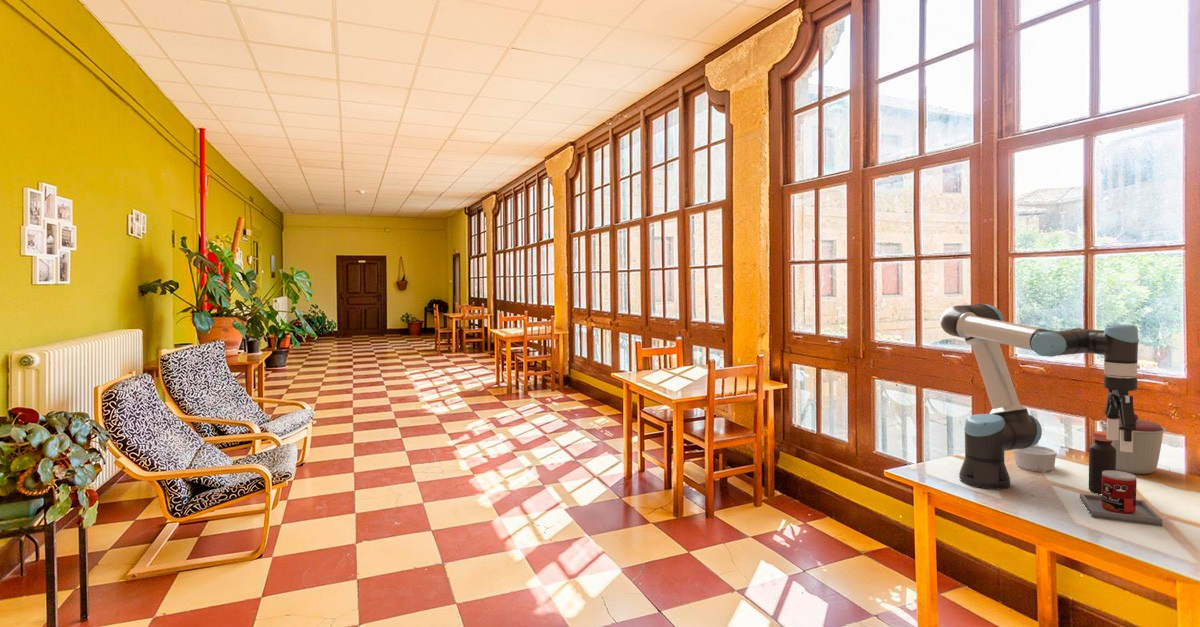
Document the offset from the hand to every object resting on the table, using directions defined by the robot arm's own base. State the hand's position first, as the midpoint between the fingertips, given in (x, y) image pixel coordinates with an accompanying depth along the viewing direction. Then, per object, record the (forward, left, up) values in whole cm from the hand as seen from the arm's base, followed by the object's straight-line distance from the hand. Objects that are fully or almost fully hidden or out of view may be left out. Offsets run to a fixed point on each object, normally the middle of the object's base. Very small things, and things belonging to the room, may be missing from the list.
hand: (1119, 445), depth 177 cm
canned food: (0, 0, -20) cm, 20 cm away
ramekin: (-15, +40, -21) cm, 47 cm away
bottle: (0, +18, -21) cm, 27 cm away
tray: (0, 0, -21) cm, 21 cm away
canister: (+15, +49, -21) cm, 55 cm away
